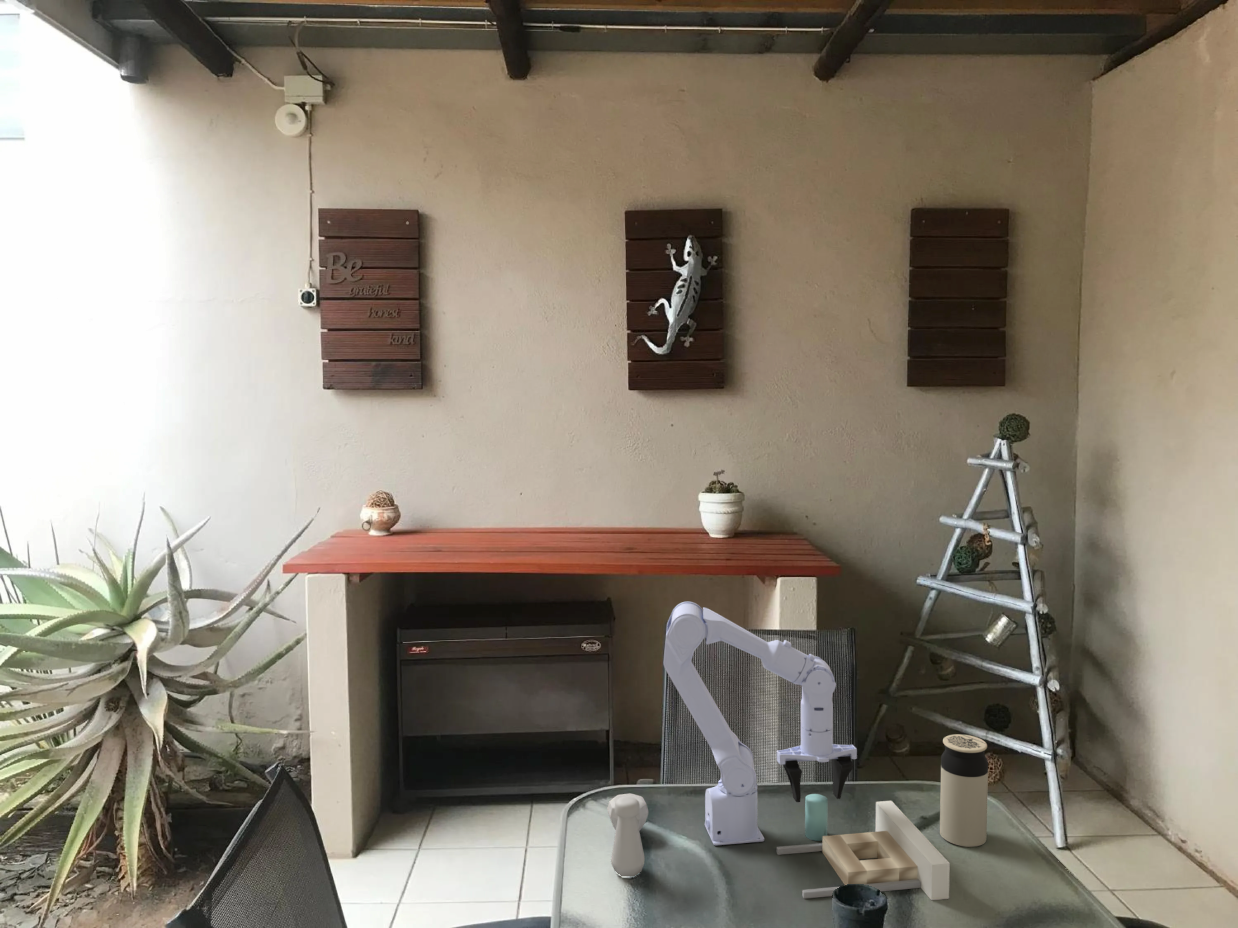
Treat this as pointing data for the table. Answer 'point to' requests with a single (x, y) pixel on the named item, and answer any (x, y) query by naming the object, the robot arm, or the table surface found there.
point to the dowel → (816, 816)
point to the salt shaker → (627, 839)
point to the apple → (640, 817)
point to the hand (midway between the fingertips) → (816, 797)
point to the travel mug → (964, 790)
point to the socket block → (868, 845)
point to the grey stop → (911, 840)
